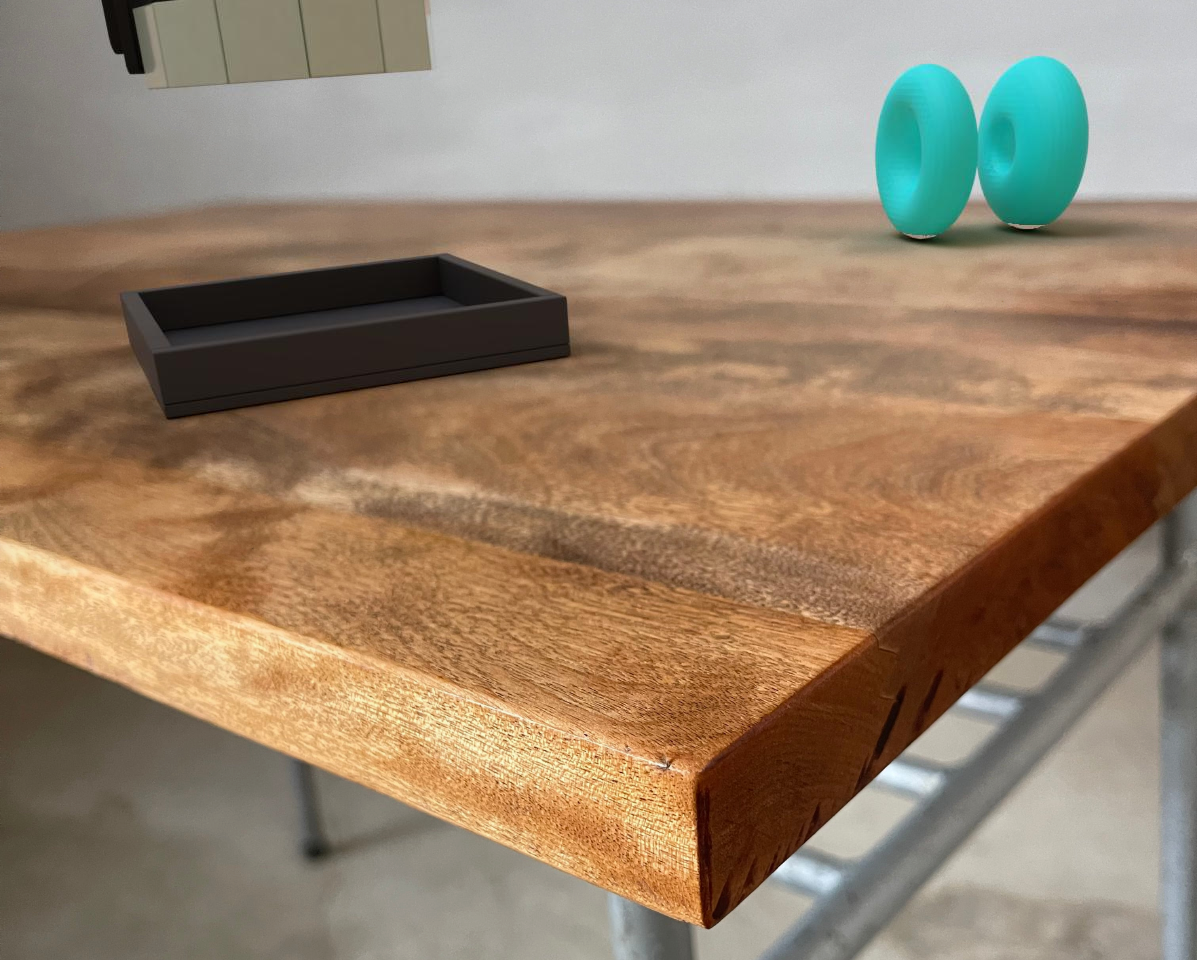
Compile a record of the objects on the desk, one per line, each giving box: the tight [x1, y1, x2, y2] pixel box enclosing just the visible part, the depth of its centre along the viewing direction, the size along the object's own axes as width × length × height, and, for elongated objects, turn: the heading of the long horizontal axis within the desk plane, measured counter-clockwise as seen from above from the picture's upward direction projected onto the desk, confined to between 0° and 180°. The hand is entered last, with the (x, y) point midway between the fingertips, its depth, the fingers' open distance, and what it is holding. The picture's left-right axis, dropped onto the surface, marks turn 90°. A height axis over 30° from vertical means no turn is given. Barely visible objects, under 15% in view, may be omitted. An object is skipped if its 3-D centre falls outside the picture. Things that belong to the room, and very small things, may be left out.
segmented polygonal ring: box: [133, 0, 438, 90], centre depth 51 cm, size 12×12×3 cm
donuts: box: [874, 55, 1090, 236], centre depth 75 cm, size 10×10×10 cm
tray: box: [118, 252, 572, 419], centre depth 56 cm, size 17×17×2 cm
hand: (165, 69), depth 52 cm, fingers closed on segmented polygonal ring, 1 cm apart
